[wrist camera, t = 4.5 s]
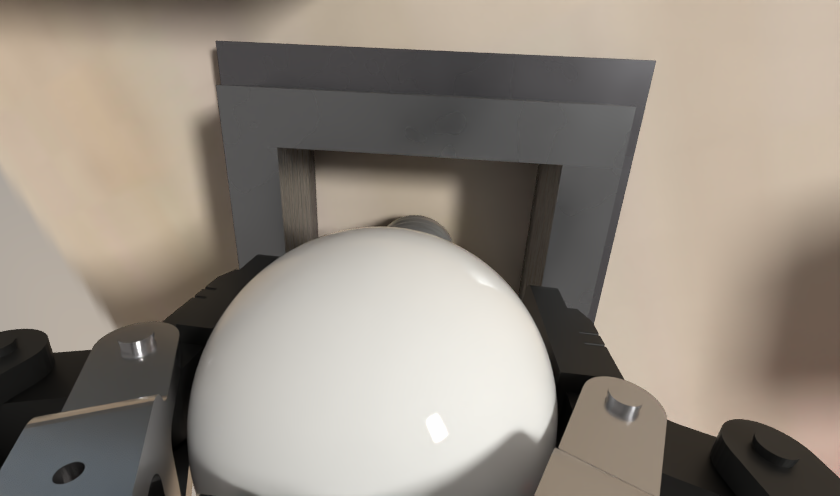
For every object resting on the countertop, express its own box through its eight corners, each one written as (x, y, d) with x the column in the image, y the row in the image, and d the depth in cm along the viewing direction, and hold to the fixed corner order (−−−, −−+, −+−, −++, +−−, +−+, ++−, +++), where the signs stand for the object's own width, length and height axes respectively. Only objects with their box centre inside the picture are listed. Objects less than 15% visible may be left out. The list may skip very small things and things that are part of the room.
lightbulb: (348, 324, 17) (175, 710, 6) (315, 166, 14) (-40, 376, 4) (509, 314, 16) (605, 737, 6) (501, 146, 13) (638, 342, 3)
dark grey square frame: (226, 42, 13) (163, 31, 10) (646, 61, 12) (701, 55, 9) (264, 375, 18) (228, 428, 15) (568, 405, 17) (589, 467, 14)
